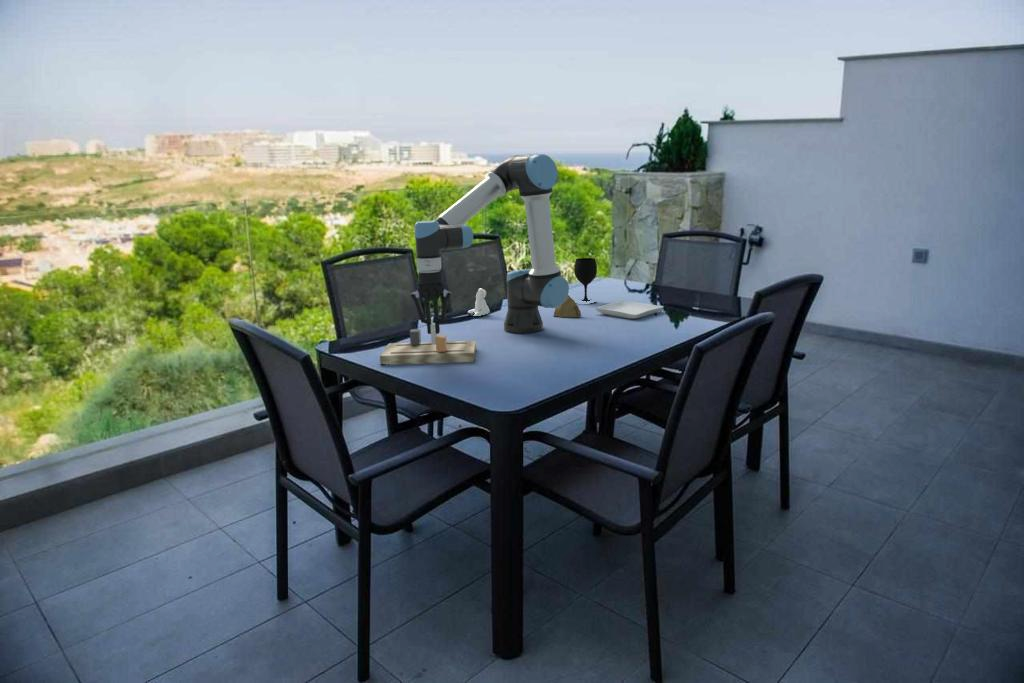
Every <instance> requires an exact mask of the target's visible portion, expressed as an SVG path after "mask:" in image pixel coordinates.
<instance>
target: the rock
mask: <svg viewBox="0 0 1024 683" xmlns="http://www.w3.org/2000/svg"><path fill="white" fill-rule="evenodd" d="M575 301H576V300H574V299H573V298H572V297H571V296H570V295H569V294H568V296H567V298H566V299H565V302H564V303H563V304H562V305H561V306H559V307H557V308H554V312H553V315H552V317H553V316H558V317H557V318H580V317H582V313H581V310H580V308H579V304H576V303H575Z"/></svg>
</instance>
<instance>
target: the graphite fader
mask: <svg viewBox="0 0 1024 683" xmlns="http://www.w3.org/2000/svg"><path fill="white" fill-rule="evenodd" d="M421 335H422V334H421V328H411V329H410V330H409V339H410V340H409V341H410V342H409V343H411V345H420V343H421V342H422V336H421Z"/></svg>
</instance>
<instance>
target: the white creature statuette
mask: <svg viewBox="0 0 1024 683" xmlns="http://www.w3.org/2000/svg"><path fill="white" fill-rule="evenodd" d="M486 296H487V291H486V289H484V288H481V287H480V288H478V289H477V292H476V295H475V303H474V308H472V309H470V310H467V314H468V313H473V312H474V313H475V314H474V315H472V316H481V315H485V314H488V313H489V314H490V311H491V310H490V309H489V306H488V305H487V302H486V299H485V298H486ZM489 314H488V315H489Z"/></svg>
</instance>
